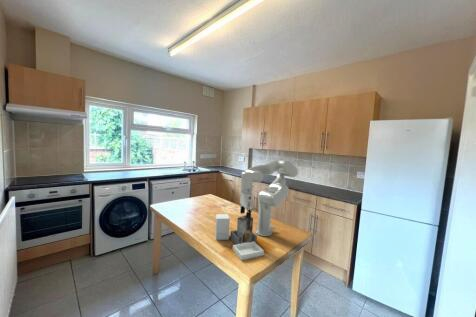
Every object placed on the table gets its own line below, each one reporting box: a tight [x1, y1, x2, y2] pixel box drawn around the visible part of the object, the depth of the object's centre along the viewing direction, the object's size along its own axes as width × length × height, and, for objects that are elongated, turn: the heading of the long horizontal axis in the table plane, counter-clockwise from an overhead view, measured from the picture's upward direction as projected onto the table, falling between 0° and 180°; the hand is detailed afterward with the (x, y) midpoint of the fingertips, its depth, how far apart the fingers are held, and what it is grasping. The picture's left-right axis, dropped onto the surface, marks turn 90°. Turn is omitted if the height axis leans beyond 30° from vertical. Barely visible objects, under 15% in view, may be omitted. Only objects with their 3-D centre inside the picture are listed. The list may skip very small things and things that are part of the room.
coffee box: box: [236, 215, 254, 244], centre depth 133 cm, size 9×6×16 cm
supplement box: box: [214, 213, 230, 241], centre depth 136 cm, size 9×9×15 cm
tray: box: [232, 241, 265, 261], centre depth 118 cm, size 15×12×3 cm
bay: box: [229, 229, 258, 245], centre depth 133 cm, size 14×12×5 cm
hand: (245, 215), depth 132 cm, fingers open, 8 cm apart
